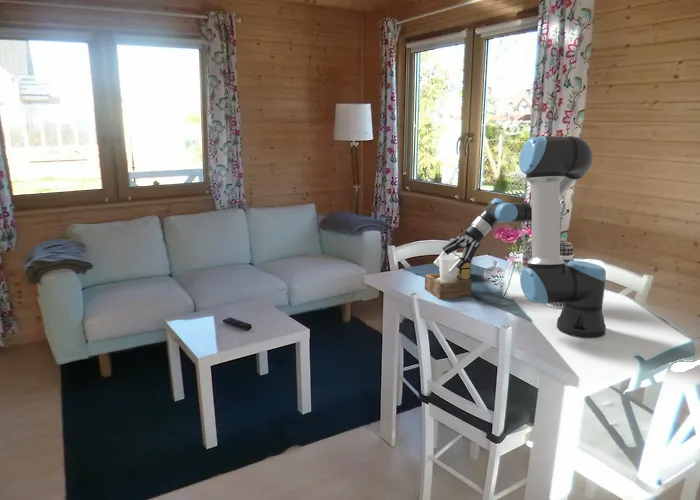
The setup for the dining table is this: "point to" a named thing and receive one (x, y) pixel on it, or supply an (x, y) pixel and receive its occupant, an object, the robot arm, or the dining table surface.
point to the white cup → (447, 267)
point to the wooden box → (447, 286)
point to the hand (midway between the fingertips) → (443, 269)
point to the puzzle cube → (463, 267)
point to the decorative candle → (566, 256)
